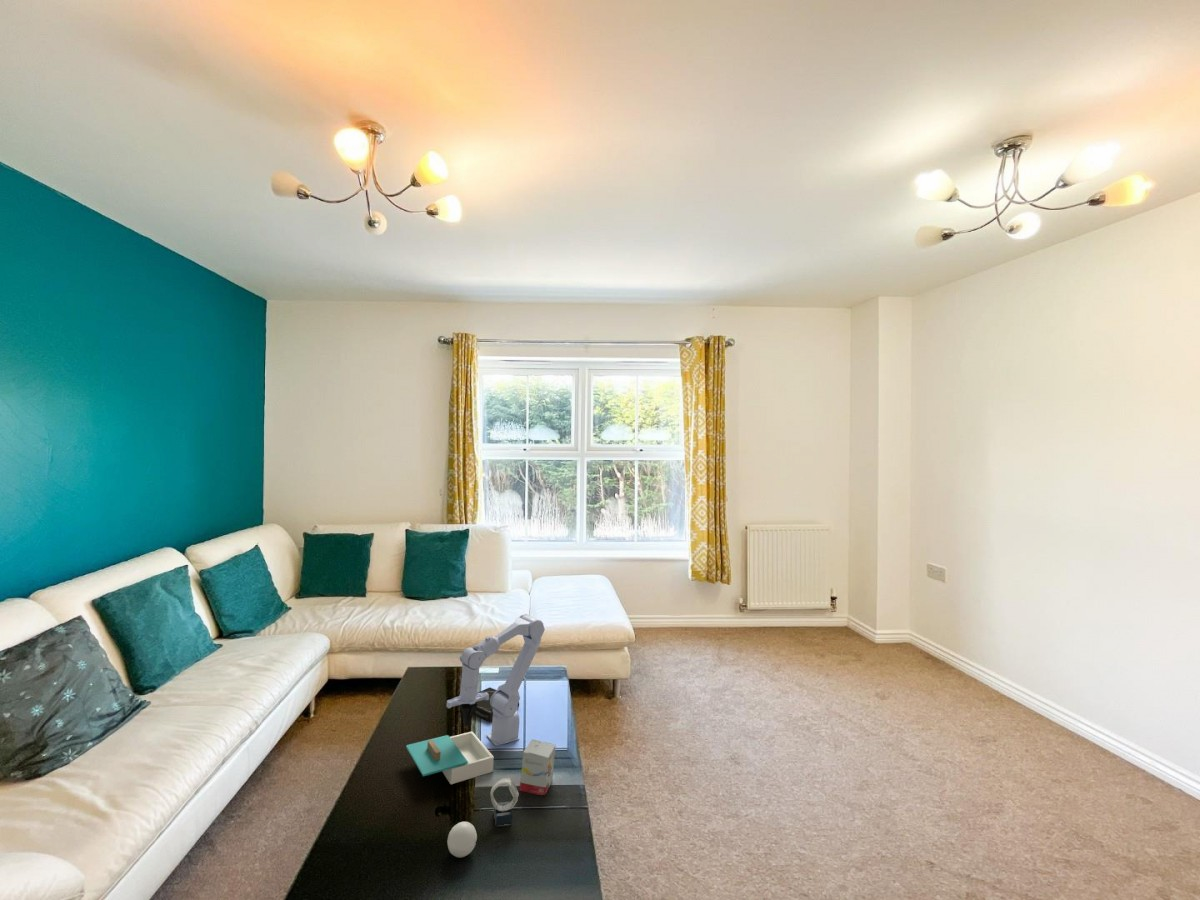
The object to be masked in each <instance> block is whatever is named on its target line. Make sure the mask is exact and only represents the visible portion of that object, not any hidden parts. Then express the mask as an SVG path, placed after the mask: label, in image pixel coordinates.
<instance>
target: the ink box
mask: <svg viewBox="0 0 1200 900" xmlns="http://www.w3.org/2000/svg"><path fill="white" fill-rule="evenodd" d="M556 747H557V746H556V744H554V743H551V742H545V741H542V740H536V739H531V740H530V742H529V743H528V745H526V747H525V749H524V750H523V753H522V762H521V763H522V764H521V771H520V773H521V774H520V780H519V781H520V782H519V791H520V792H525V793H529V794H534V795H539V796H543V795H545V794H546V795H547V792H548V791H549V789H550V786H551V784H552V781H553V775H554V768H555V767H554V765H555V755H556ZM546 795H545V796H546Z"/></svg>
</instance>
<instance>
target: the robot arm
mask: <svg viewBox="0 0 1200 900" xmlns="http://www.w3.org/2000/svg"><path fill="white" fill-rule="evenodd" d="M545 631H546V630H545V626H544V623H543V621H542V620H541V619H537V618H535V617H532V616H530V615H529V614H527V613H523V614H521V615H519V616H518V617H516V618H515V620H514V622H512V623H511V624H510V625H509V626H508V627H506V628H505V629H503V630H502V631H501V632H499V633H498V634H497V635H496V636H492V635H490V636H486V637H485V639H483V640H481V642H479V643H477V644H475V645H473V647H467V648H465V649H464V650H462V653H461V655H460V656H459V661H460V663H461V664H462V665H461V668H462V669H461V670H462V671H461V680H460V683H461V684H460V690H459V696H456V697H453V698H451V699H448V700H446V708H447V709H451V708H452V707H457V706H458V707H459V710H460V712H461V718H462V724H463V725H464V727H466V726H470V723H471V720H472V717H473V716H474V715H473V713H474V711H475V710H476V708H477V704H476V701H481V700H489V694H488V693H487V692H485V693H478V688H479V675H480V668H481V666H483V664H484V662H485V661H486V659H488V658H489V657H490V656H492V655H493V654H495V653H497V652H498V651H499V650H500V647H501V645H503V644H505V643H506V642H509V641H510V640H511V639H513V638H515V637H517V636H522V638H523V641H524V643H523V645H522V648H521V650H520V652H519V654H518V655H517V658H516V660H515V663H514V664H513V666H512V668H511V670H510V672H509V674H508V676H507V678H506V681H505V683H503V684H501V685H498V687H497V689H496V690H497V691H496V692H495V693H494V694H493V695H492V697H491V699H490V705H491V707H492V708H493V720H492V722H491V731H490V732H489V733H487V734H486V736H487V738H488V739H489V740H490V741H491V743H492V744H493V745H494V746H501V745H504V744H507V743H512V742H515V741H519V740H520V737H519V734H520V733H519V729H520V715H519V713H518V711H517V710H518V708H519V707H518V702H519V703H520V700H521V696H520V692H519V689H520V688H521V685H522V683H523V681H524V678H525V677H526V674H527V672H528V671H529V668H530V666H531V665H532V662H533V659H534V658H535V656H536V654H537V651H538V650H539V647H540V645H541V641H542V636H543V634H544V633H545ZM506 694H507V695H506Z"/></svg>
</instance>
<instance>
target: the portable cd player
mask: <svg viewBox="0 0 1200 900" xmlns="http://www.w3.org/2000/svg"><path fill="white" fill-rule="evenodd" d="M496 691H497V689H496V688H492V687H490V686H489V687H487V688H485V689H483V690H479V691H477V693H485V692H487V693H488V694H489V700H481V701H476V704H477V708H476V710H475V711H474V713H473V715H472V716H473V717H476V718H478V719H481V720H483V721H485V722H487V723H492V720H493V708H492V707H491V705H490V699H491V697H492V695H493V694H494V693H495V692H496ZM506 695H507V694H506ZM519 707H520V701H519V702H518V708H519Z"/></svg>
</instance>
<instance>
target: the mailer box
mask: <svg viewBox="0 0 1200 900" xmlns="http://www.w3.org/2000/svg"><path fill="white" fill-rule="evenodd" d="M449 737H450V738H451V740H452V741H453V742H454V744H455V745H456V746H457V748H458V749H459V750H460V752H461V753H462V754H463V756H464V757H465V758H466V760H467V761H468V764H465V765H461V766H458V767H454V768H451V769H447V770H444V771H441V772H442V773H443V775H444V777H445V778H446V780H447V781H448V782H449V784H450V785H453V784H456V783H460V782H464V781H466V780H469V779H473V778H476V777H481V776H482V775H487V774H489V773H492V772H494V759H495V758H494V755H493V754H492V753H491V752H490V750H489V749H488V747H486V746H485V744H484V743H483V742H482V741H481V740H480V739H479V737H478V736H477V735H476V734H475V732H474V731H469V732H464V733H461V734H457V735H451V736H449Z"/></svg>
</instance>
